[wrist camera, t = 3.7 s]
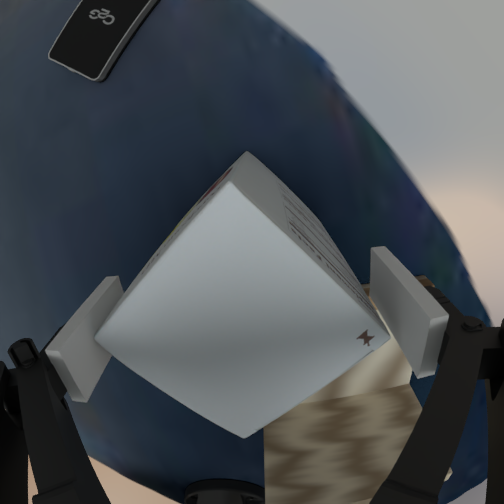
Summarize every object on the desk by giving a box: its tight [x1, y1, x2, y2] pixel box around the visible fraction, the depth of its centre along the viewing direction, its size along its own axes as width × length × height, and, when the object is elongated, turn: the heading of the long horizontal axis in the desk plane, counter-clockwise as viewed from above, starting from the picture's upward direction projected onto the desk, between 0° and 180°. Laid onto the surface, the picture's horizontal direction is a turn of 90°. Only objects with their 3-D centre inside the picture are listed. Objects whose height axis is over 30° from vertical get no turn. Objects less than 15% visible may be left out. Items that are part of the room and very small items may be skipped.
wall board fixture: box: [264, 275, 452, 504], centre depth 26 cm, size 18×16×15 cm
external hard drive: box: [48, 0, 160, 82], centre depth 20 cm, size 7×11×2 cm, turn 146°
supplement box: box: [94, 151, 391, 438], centre depth 20 cm, size 10×9×17 cm
